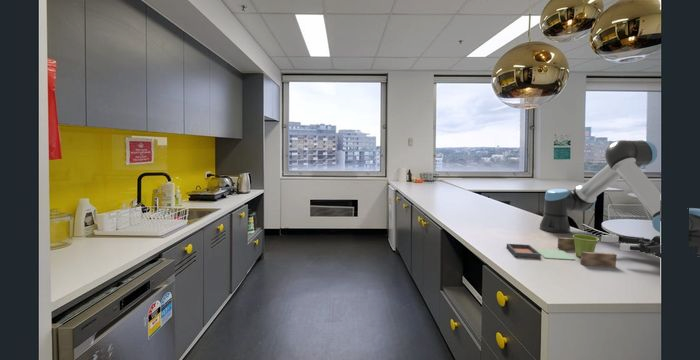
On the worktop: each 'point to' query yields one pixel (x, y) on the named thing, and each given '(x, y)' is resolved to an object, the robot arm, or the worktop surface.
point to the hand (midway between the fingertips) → (610, 242)
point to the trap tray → (523, 251)
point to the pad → (555, 254)
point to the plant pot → (584, 243)
